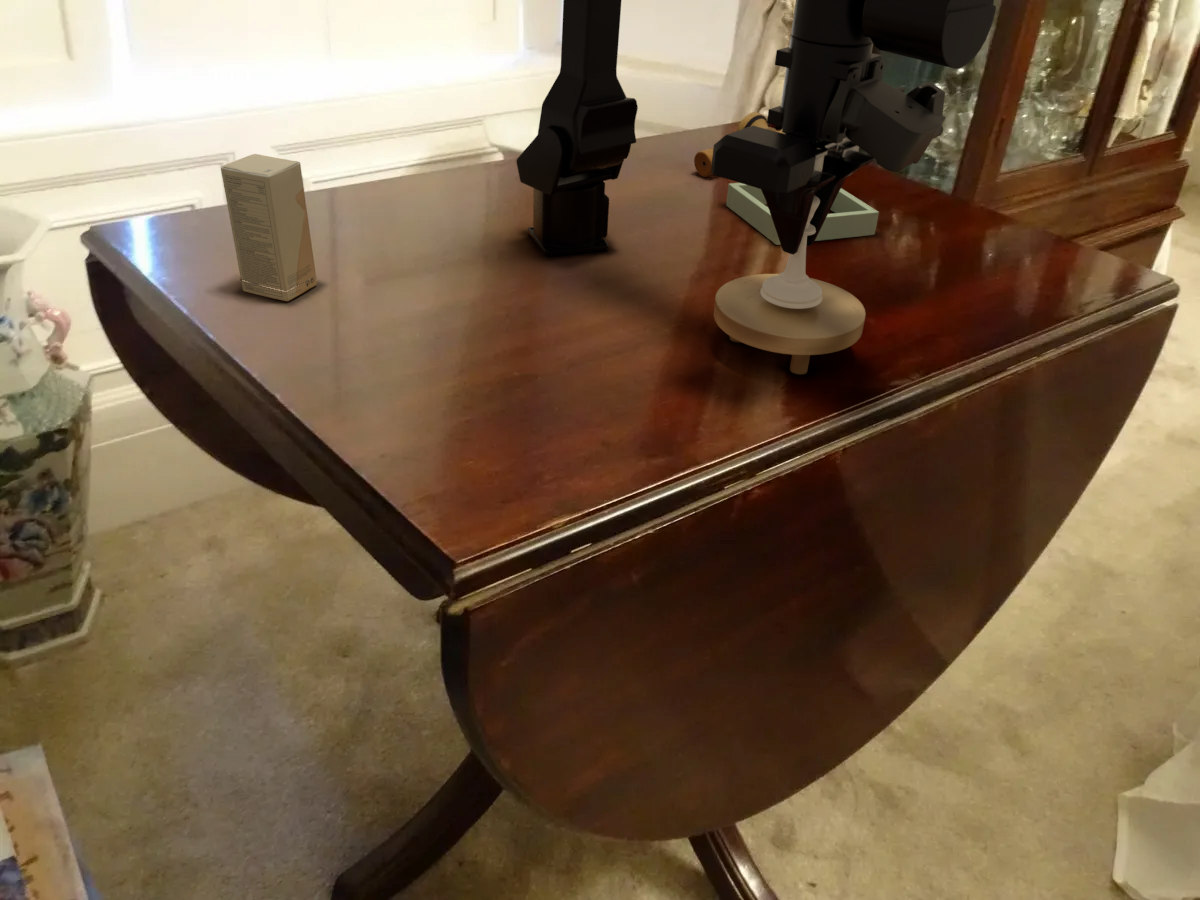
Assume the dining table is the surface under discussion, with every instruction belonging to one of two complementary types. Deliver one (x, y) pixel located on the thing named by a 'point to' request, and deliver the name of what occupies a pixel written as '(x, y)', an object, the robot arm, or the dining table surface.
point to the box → (270, 225)
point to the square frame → (843, 223)
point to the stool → (789, 320)
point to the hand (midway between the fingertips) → (797, 248)
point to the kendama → (753, 119)
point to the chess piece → (795, 277)
